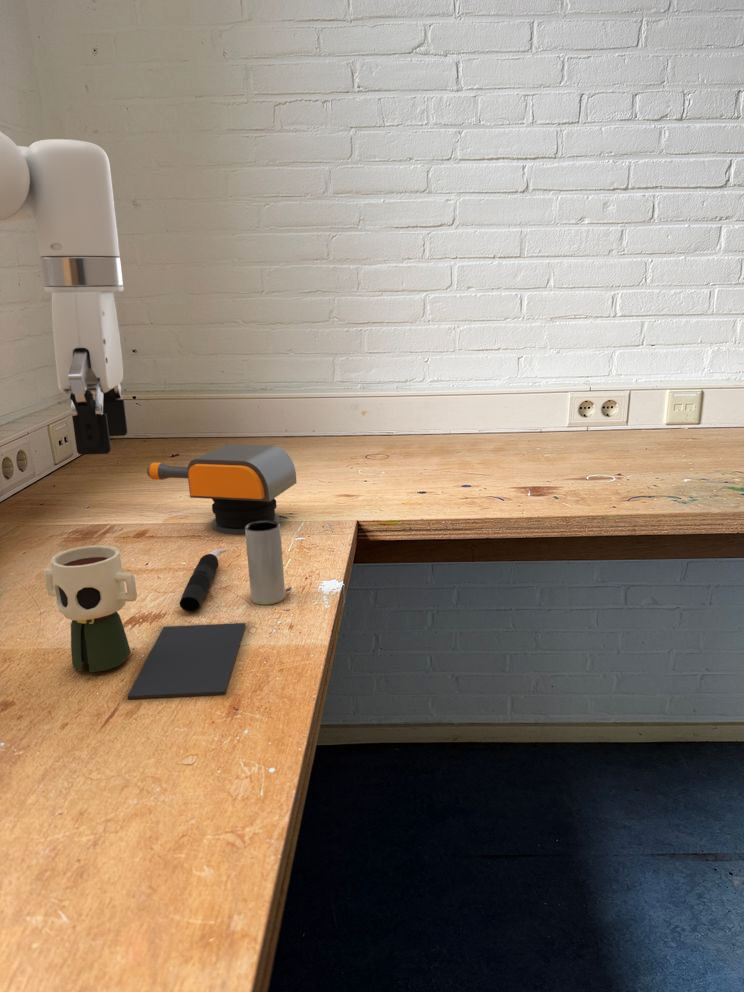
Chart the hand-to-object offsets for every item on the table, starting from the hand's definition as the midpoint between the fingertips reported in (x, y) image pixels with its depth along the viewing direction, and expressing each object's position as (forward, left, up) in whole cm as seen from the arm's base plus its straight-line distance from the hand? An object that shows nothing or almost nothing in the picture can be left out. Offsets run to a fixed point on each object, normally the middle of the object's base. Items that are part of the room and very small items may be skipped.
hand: (104, 444), depth 86 cm
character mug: (-2, -4, -25) cm, 25 cm away
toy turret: (+3, +49, -25) cm, 55 cm away
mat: (+8, -4, -24) cm, 26 cm away
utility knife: (+6, +19, -25) cm, 32 cm away
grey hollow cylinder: (+15, +13, -25) cm, 31 cm away
